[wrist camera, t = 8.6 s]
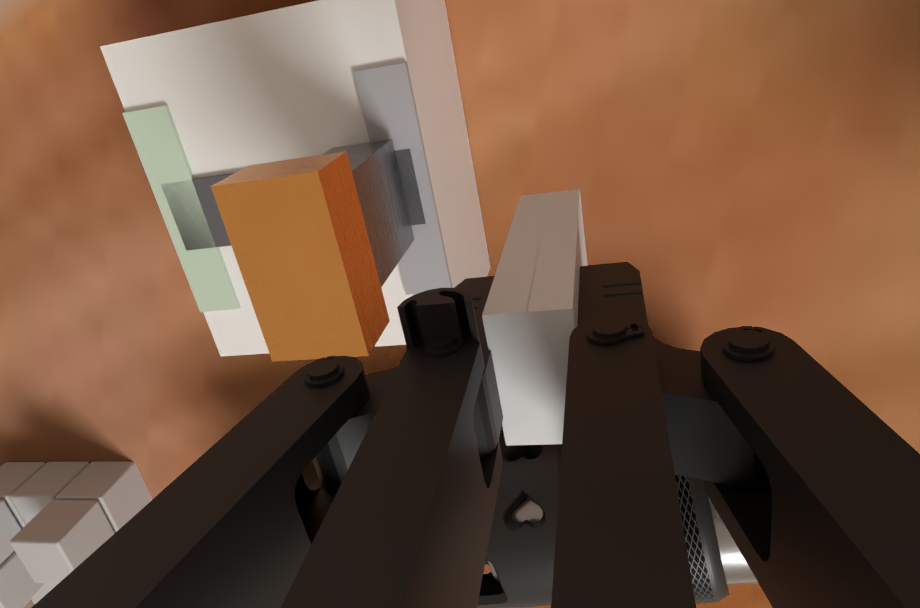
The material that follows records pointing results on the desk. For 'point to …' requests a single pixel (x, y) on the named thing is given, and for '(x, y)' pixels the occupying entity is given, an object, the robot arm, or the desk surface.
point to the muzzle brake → (535, 521)
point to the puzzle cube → (59, 520)
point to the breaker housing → (303, 134)
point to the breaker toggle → (318, 246)
